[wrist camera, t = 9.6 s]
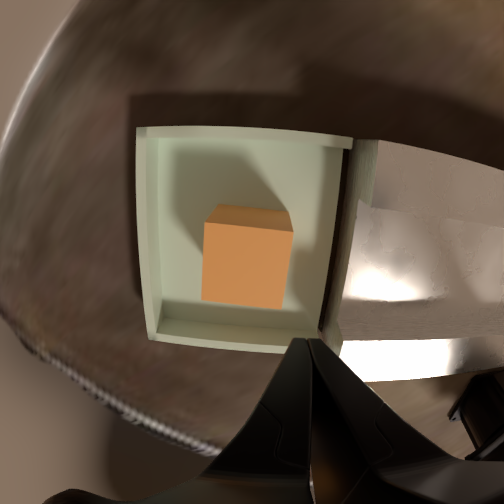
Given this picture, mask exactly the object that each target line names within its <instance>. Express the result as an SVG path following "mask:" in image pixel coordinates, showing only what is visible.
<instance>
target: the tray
mask: <svg viewBox="0 0 504 504" xmlns="http://www.w3.org/2000/svg"><path fill="white" fill-rule="evenodd" d="M352 142H353V138H351V137H344V136H337V135H329V134H321V133H313V132H303V131H293V130H281V129H268V128H252V127H229V126H158V127H136V208H137V231H138V247H139V260H140V272H141V283H142V293H143V302H144V310H145V318H146V326H147V333H148V339H149V340H156V341H163V342H170V343H177V344H184V345H192V346H201V347H210V348H219V349H229V350H240V351H253V352H266V353H283V354H284V353H285V351H286V350H287V348H288V346H289V344H290V342H291V340H292V338H294V337H298V338H306V340H307V339H308V338H318V333H317V328H318V323H319V318H320V312H321V307H322V301H323V296H324V290H325V285H326V279H327V273H328V266H329V260H330V254H331V247H332V240H333V233H334V226H335V219H336V211H337V203H338V194H339V186H340V176H341V167H342V156H343V148H345V149H352ZM218 204H224V205H234V206H244V207H253V208H262V209H270V210H279V211H287V212H289V215H290V219H291V223H292V227H293V231H294V234H293V241H292V247H291V254H290V260H289V267H288V273H287V279H286V285H285V291H284V297H283V303H282V309H271V308H262V307H253V306H244V305H236V304H228V303H220V302H212V301H204V300H201V290H202V264H203V243H204V225H205V221H206V220H207V218H208V217H209V216H210V214H211V213H212V212H213V210H214V209H215V208H216V207H217V205H218Z"/></svg>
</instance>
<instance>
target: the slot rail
mask: <svg viewBox="0 0 504 504" xmlns="http://www.w3.org/2000/svg"><path fill="white" fill-rule="evenodd" d="M322 338H323V342H324V343H325V344H326V345H327V346H328V347H329V348H330V349H331V350H332V351H333V352H334V353H335V354H336V355H337V356H338V357H339V358H340V359H341V360H342V361H343V362H345V363H346V364H347V365H348V366H349V367H350V368H351V369H352V370H353V371H354V372H355V373H356V374H357V375H358V376H359V377H360V378H361V379H362V380H363V381H382V380H399V379H413V378H424V377H434V376H443V375H452V374H459V373H466V372H473V371H479V370H486V369H491V368H497V367H502V366H504V171H502V170H499V169H496V168H493V167H490V166H486V165H483V164H480V163H476V162H473V161H469V160H466V159H462V158H459V157H455V156H451V155H447V154H443V153H439V152H435V151H431V150H426V149H422V148H418V147H413V146H408V145H403V144H398V143H393V142H388V141H383V140H371V139H353V142H352V149H349V156H348V166H347V176H346V185H345V193H344V201H343V209H342V217H341V224H340V231H339V238H338V245H337V251H336V257H335V264H334V270H333V275H332V281H331V287H330V292H329V298H328V303H327V308H326V313H325V318H324V323H323V328H322Z"/></svg>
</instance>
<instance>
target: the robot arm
mask: <svg viewBox="0 0 504 504" xmlns="http://www.w3.org/2000/svg"><path fill="white" fill-rule="evenodd" d="M449 420H450V422H454V421H459V420H461V421H462V423H463V425H464V427H465V429H466V431H467V433H468V435H469V437H470V439H471V441H472V443H473V445H474V447H475V449H476V450H475V451H474V452H473V453H471V454H470V455H467V456H466V457H465V460H462V459H458V458H456V457H453V456H451V455H450V454H448V453H447V452H445V451H444V450H442V449H441V448H440V447H438V446H437V445H436V444H434V443H433V442H432V441H430V440H429V439H428V438H426V437H425V436H424V435H422V434H421V433H420V432H418V431H417V430H416V429H415V428H413V427H412V426H411V425H410V424H408V423H407V422H406V421H405V420H404V419H402V418H401V417H400V416H399V415H398V414H397V413H396V412H395V411H394V410H393V409H392V408H391V407H390V406H389V405H387V404H386V403H384V401H383V400H382V399H381V398H380V397H379V396H378V395H377V394H376V393H375V392H374V391H373V390H372V389H371V388H370V387H369V386H368V385H367V384H366V383H365V382H364V381H363V380H362V379H361V378H360V377H359V376H358V375H357V374H356V373H355V372H354V371H353V370H352V369H351V368H350V367H349V366H348V365H347V364H346V363H345V362H343V361H342V360H341V359H340V358H339V357H338V356H337V355H336V354H335V353H334V352H333V351H332V350H331V349H330V348H329V347H328V346H327V345H326V344H325V343H324V342H323V341H322V340H321V339H319V338H308V339H307V340H306V338H298V337H294V338H292V340H291V342H290V344H289V346H288V348H287V350H286V351H285V353H284V355H283V357H282V359H281V361H280V363H279V365H278V367H277V369H276V370H275V372H274V374H273V376H272V378H271V380H270V382H269V383H268V385H267V387H266V389H265V391H264V393H263V394H262V396H261V398H260V400H259V402H258V404H257V405H256V407H255V408H254V410H253V412H252V413H251V415H250V417H249V418H248V420H247V421H246V423H245V424H244V426H243V427H242V428H241V429H240V431H239V432H238V433H237V434H236V436H235V437H234V438H233V439H232V440H231V441H230V443H229V444H228V445H227V446H226V447H225V448H224V449H223V450H222V452H221V453H220V454H219V455H218V456H217V457H216V458H215V459H214V460H213V462H212V463H211V464H210V465H209V466H208V467H207V468H206V469H205V470H204V471H202V472H201V473H200V474H199V475H198V476H196V477H195V478H193V479H191V480H189V481H187V482H185V483H182V484H180V485H178V486H175V487H173V488H170V489H168V490H165V491H163V492H161V493H158V494H155V495H152V496H149V497H147V498H144V499H140V500H136V501H126V502H125V501H116V500H111V499H107V498H104V497H101V496H98V495H96V494H93V493H90V492H87V491H84V490H79V489H68V490H65V491H63V492H60V493H58V494H56V495H54V496H52V497H50V498H48V499H47V500H45V502H44V503H42V504H314V502H313V498H312V495H311V491H310V482H309V480H310V464H311V472H312V479H313V487H314V494H315V502H316V504H504V371H499V372H494V373H489V374H483V375H478V376H475V377H474V378H473V379H472V381H471V382H470V384H469V386H468V388H467V389H466V391H465V393H464V395H463V396H462V398H461V400H460V401H459V403H458V404H457V406H456V408H455V409H454V411H453V412H452V414H451V416H450V417H449Z"/></svg>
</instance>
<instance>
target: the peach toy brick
mask: <svg viewBox="0 0 504 504" xmlns="http://www.w3.org/2000/svg"><path fill="white" fill-rule="evenodd" d="M293 234H294V231H293V227H292V223H291V219H290V215H289V212H287V211H279V210H270V209H262V208H253V207H244V206H234V205H224V204H218V205H217V207H216V208H215V209H214V210H213V212H212V213H211V214H210V216H209V217H208V218H207V220H206V221H205V225H204V243H203V264H202V290H201V300H204V301H212V302H220V303H228V304H236V305H244V306H253V307H262V308H271V309H282V303H283V297H284V291H285V285H286V279H287V273H288V267H289V260H290V254H291V247H292V241H293Z"/></svg>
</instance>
